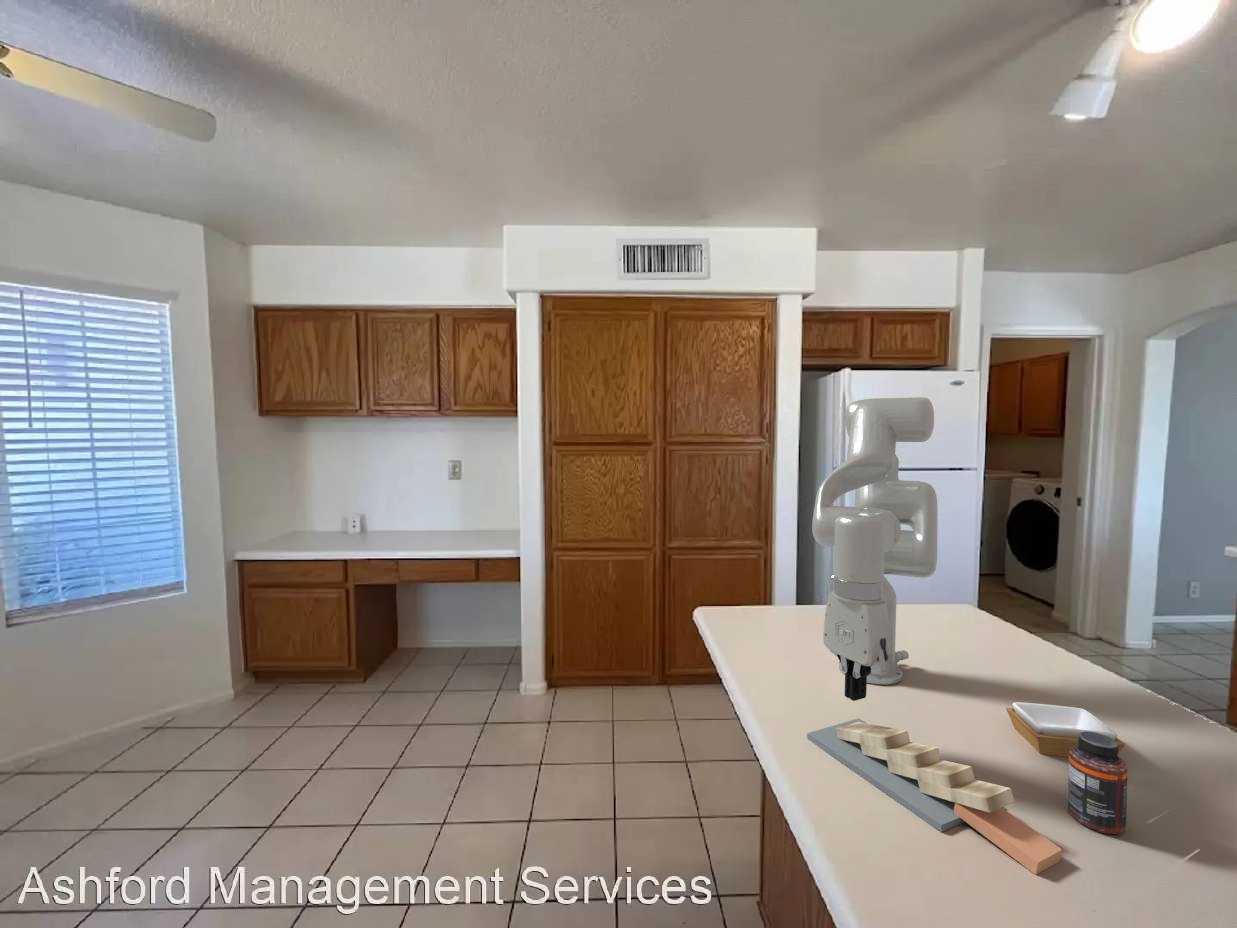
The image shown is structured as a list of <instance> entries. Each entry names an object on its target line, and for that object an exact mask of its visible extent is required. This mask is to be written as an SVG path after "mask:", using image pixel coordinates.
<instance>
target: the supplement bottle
mask: <svg viewBox="0 0 1237 928" xmlns="http://www.w3.org/2000/svg"><path fill="white" fill-rule="evenodd" d="M1078 743H1079V744H1078V745H1075V746H1073V747H1072V748H1071V749H1070V751H1069V757H1068V766H1067V767H1068V771H1067V775H1068V776H1067V777H1068V778H1067V781H1068V782H1067V810H1068V813H1069V814H1070V816H1071V817H1072V818H1073V819H1074V820H1075V821H1076V822H1078V823H1079V824H1080V825H1083V826H1084V827H1086V828H1088V829H1091V830H1093V831H1096V832H1098V833H1104V834H1108V835H1109V834H1110V835H1117V834H1118V835H1119V834H1122V833H1124V832H1125V830H1126V829H1127V828H1126V827H1127V807H1128V805H1127V803H1128V781H1129V780H1128V776H1129V775H1128V774H1129V771H1128V766H1127V763H1126V762H1125V761H1124V760H1123V759H1122V758H1121V757H1120V756H1119V753H1118V743H1117V742H1116V741H1115V740H1113V739H1111V738H1110V737H1108V736H1105V735H1103V734H1099V733H1095V732H1088V731H1084V732H1080V733H1079V740H1078Z"/></svg>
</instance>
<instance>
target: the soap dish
mask: <svg viewBox="0 0 1237 928" xmlns="http://www.w3.org/2000/svg"><path fill="white" fill-rule="evenodd" d="M1005 710H1006V712H1007V714H1008V716H1009V717H1008V718H1009V719H1010V721H1011V723H1012V725H1013V728H1014V729H1015V730H1016V731H1017V732H1018V734H1020V736H1022V738H1024V740H1026V742H1028V744H1030V745H1031V747H1032V748H1034V749H1035V750H1036V751H1037V752H1038V753H1039V754H1040V755H1047V756H1048V755H1049V756H1058V757H1060V756H1061V757H1068V758H1069V751H1070V749H1071V748H1072V747H1073V746H1075V745H1078V744H1079V743H1078V740H1079V733H1080V732H1084V731H1088V732H1095V733H1099V734H1103V735H1105V736H1108V737H1110V738H1111V739H1113V740H1115V741H1116V742H1117V743H1118V754H1119V753H1120V752H1121V750H1122V749H1123V748H1124V747H1125V746H1126V744H1125V743H1124V741H1122V740H1121V739H1119V738H1118V737H1119V734H1118V733H1117V732H1116V731H1115V730H1113V729H1112V728H1111V727H1110V726H1108V725H1107V724H1106V723H1104V722H1103V721H1102V720H1100V719H1099V718H1098V717H1096V716H1095V715H1094V714H1092V713H1091V712H1090V711H1088V710H1086V709H1084V708H1082V707H1081V708H1080V707H1074V706H1064V705H1055V704H1044V703H1033V702H1021V701H1019V702H1018V701H1017V702H1013V703H1012V707H1011V706H1010V707H1005Z"/></svg>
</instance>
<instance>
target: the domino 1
mask: <svg viewBox="0 0 1237 928" xmlns="http://www.w3.org/2000/svg"><path fill="white" fill-rule="evenodd" d="M867 723H868V722H866V723H861V722H855V723H852V724H848V725H845V726H841V727H838V728H836V731H837V736H838V739H843V740H847V741H851V742H856V743H860V744H865V745H869V746H874V747H878V748H882V749H890V748H893V747H896V746H899V745H903V744H906V743H909V742H911V740H910V736H909V732H908V730H904V729H899V728H894V727H888V726H882V725H877V724H872V723H868V724H867Z"/></svg>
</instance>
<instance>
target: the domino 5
mask: <svg viewBox="0 0 1237 928" xmlns="http://www.w3.org/2000/svg"><path fill="white" fill-rule="evenodd" d="M954 813H955V814H956V815H957V816H959V817H960V818H961V819H963V820H964V821H965V822H964V823H966V824H968V825H969V826H971V828H973V829H974V830H976V831H977V832H979V834H981V835H982V836H984V837H985V838H986V839H987V840H989V841H990V842H991V843H992V844H994V845H996V846H997V847H998V848H1000V849H1001V850H1002V851H1003V852H1005V853H1006V854H1008V855H1009V856H1010V857H1012V858H1013V859H1014V860H1015V861H1016V862H1018V863H1019V864H1021V865H1022V866H1023V867H1025V868H1026V869H1027V870H1028V871H1030V872H1031V873H1033V874H1034V875H1035V876H1037V875H1038V874H1040V873H1041V872H1043V871H1045V870H1048V869H1049V868H1051V867H1052V866H1054V865H1056V864H1058V863H1059V862H1060V861H1061V858H1062V853H1063V849H1062V848H1061V847H1059V846H1058V845H1056V844H1055V843H1053V842H1052V841H1051V840H1049V839H1048V838H1046V837H1045V836H1044V835H1042V834H1040V833H1039V832H1038V831H1037V830H1035V829H1033V828H1032V827H1031V826H1029V825H1028V824H1026V823H1025V822H1023V820H1020V819H1019V818H1018V817H1016V816H1014V815H1013V814H1011V813H1010V812H1009V811H1007V810H1006V809H1004V807H1002V808H1000V809H997V810H995V811H993V812H990V813H989V812H986V811H982V810H979V809H976V808H972V807H969V806H965V805H962V804H959V803H955V806H954Z"/></svg>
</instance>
